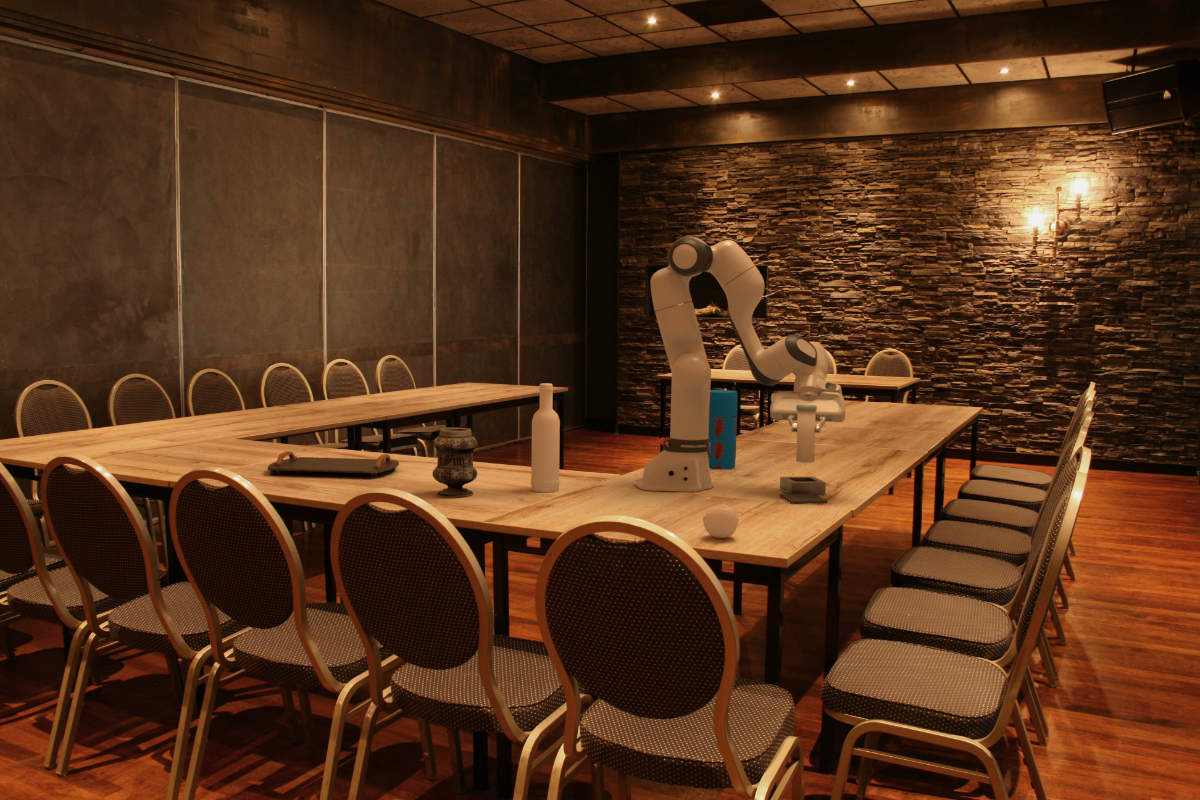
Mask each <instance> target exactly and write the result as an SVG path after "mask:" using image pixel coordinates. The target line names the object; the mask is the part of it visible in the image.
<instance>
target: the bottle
mask: <svg viewBox="0 0 1200 800" xmlns="http://www.w3.org/2000/svg"><path fill="white" fill-rule="evenodd" d="M538 388H539V389H538V391H539V409H537V411H535V413H534V414H533V416H532V419H531V474H530V475H531V477H530V484H531V486H530V487H531V488H530V489H531V491H533V492H535V493H543V494H544V493H556V492H558V491H559V490H560V444H561V443H560V441H561V440H560V438H561V436H560V434H561V433H560V431H561V429H560V427H561V420H560V417H559V414H558V413H557V411H555V410H554V409H553V404H554V403H553V397H554V396H553V395H554V394H553V392H554V386H553V384H552V383H547V382H546V383H540V384H539V387H538Z"/></svg>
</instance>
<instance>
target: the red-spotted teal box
mask: <svg viewBox="0 0 1200 800" xmlns="http://www.w3.org/2000/svg"><path fill="white" fill-rule="evenodd" d="M737 426H738V391H737V390H729V389H725V390H724V389H710V405H709V435H708V438H709V439H710V455H709V468H713V469H712V470H714V469H729V470H733V469H732V468H734V469H735V468H736V460H737V459H736V458H737V457H736V456H737V431H738V430H737V429H738V427H737Z"/></svg>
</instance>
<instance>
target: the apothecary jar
mask: <svg viewBox="0 0 1200 800" xmlns="http://www.w3.org/2000/svg"><path fill="white" fill-rule="evenodd" d="M432 445H433V447H434V449H436V450H437V462H436V463H437V464H436V465H437V466H435V468H434V469H433V471H432V477H433V479H434V480H435V481H436V482H438V483H440V484H443V485H445V486H447V487H446V488H442V489H441V490H440V491H437V493H436V495H437V496H439V497H443V498H464V497H465V498H466V497H469V496H473V495H474V491H472V490H471V489H468V488H465V487H464V485H467V484H469V483H472V482H474V481H475V480H476V479H477V477H478V471H477V468H476V467H474V460H473V457H474V455H473V454H474V450H475V449H476V448H477V447H478V440H477V439H476V438H475V437H474V436H473V433H472V429H471V428H467V427H443V428H440V429H439V434H438V436H437V437H435V439H434V441H433V444H432Z"/></svg>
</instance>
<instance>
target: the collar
mask: <svg viewBox="0 0 1200 800" xmlns="http://www.w3.org/2000/svg"><path fill="white" fill-rule="evenodd" d="M779 477H780V478H779V490H781V489H782V491H783V490H784V491H783V492H785V491H786V492H787V493H786V492H785V493H786V494H788V493H789V494H816V495H818V496H824V495H823V494H825V495H826V494H827V493H826V491H827V490H826V488H827V482H826V481H824V480H821V479H819V478H818V477H816V476H779Z"/></svg>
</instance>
